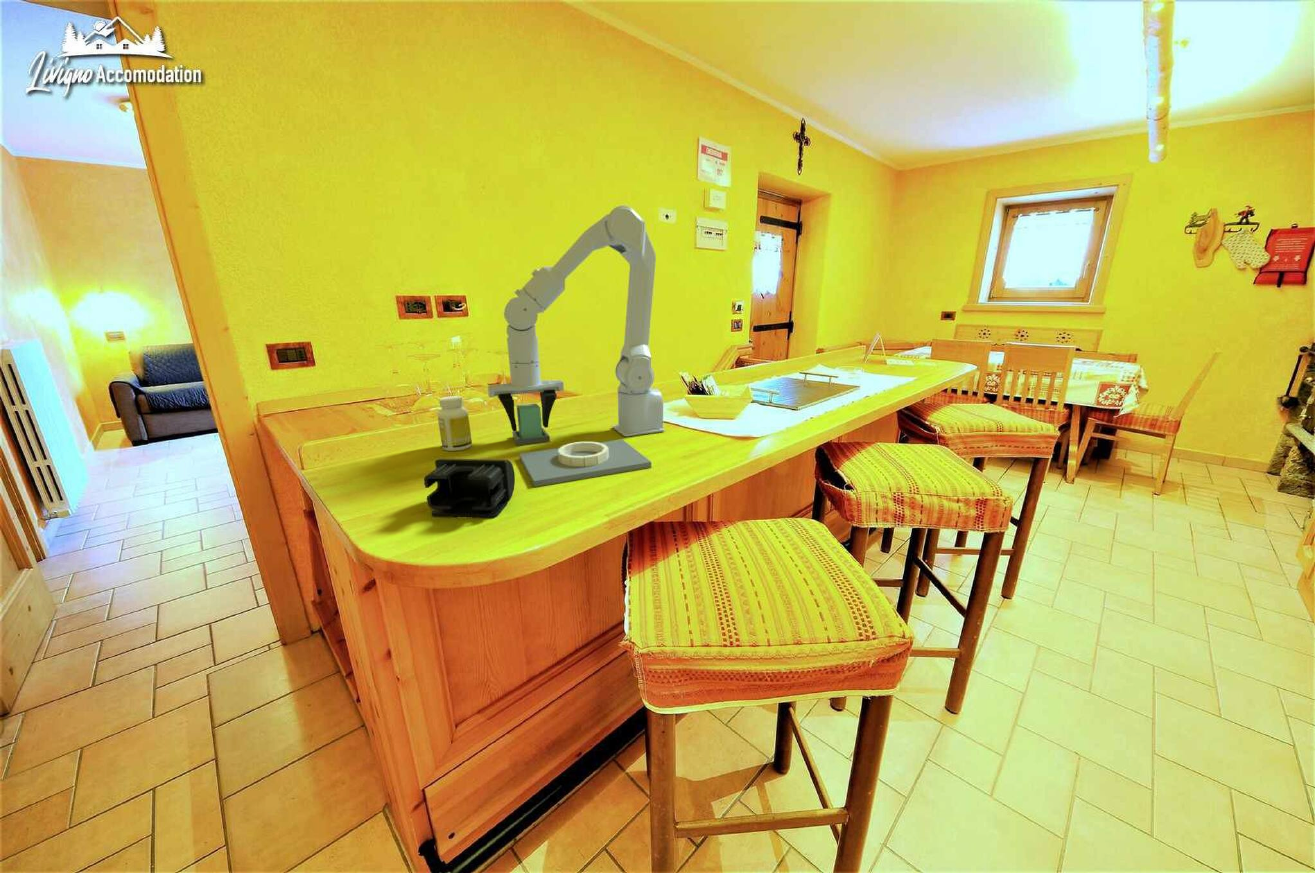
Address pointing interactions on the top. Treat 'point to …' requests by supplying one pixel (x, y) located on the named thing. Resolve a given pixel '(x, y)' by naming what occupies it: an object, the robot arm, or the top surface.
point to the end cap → (470, 487)
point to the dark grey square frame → (531, 440)
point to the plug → (529, 421)
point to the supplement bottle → (454, 424)
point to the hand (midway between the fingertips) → (530, 428)
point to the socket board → (564, 473)
